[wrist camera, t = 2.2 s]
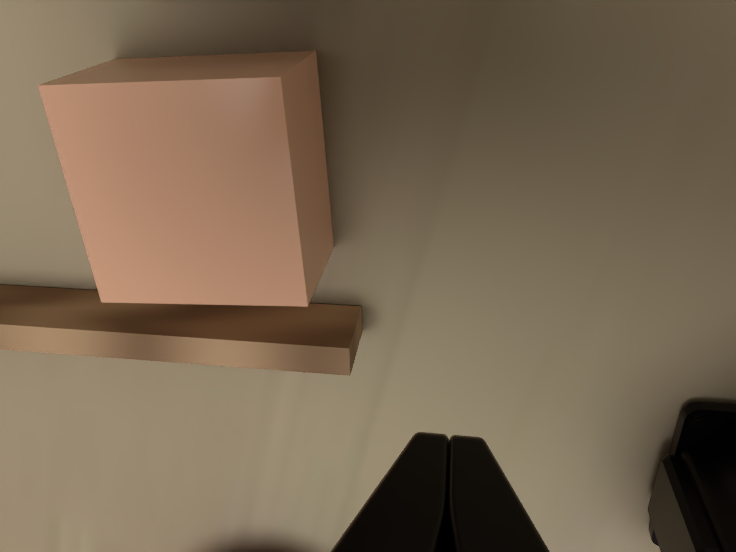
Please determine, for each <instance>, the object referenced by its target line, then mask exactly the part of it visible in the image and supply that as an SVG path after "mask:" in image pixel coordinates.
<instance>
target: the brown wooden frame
mask: <svg viewBox="0 0 736 552" xmlns="http://www.w3.org/2000/svg"><path fill="white" fill-rule="evenodd" d="M361 334H362V306H348V305H331V304H315V303H309V305H308V307H302V306H253V305H204V304H155V303H106V302H101V299H100V296H99V293H98V290H83V289H66V288H49V287H33V286H16V285H0V349H3V350H16V351H30V352H43V353H56V354H70V355H83V356H96V357H110V358H123V359H137V360H150V361H163V362H177V363H190V364H204V365H217V366H230V367H244V368H257V369H270V370H284V371H297V372H311V373H324V374H337V375H350V374H351V371H352V367H353V363H354V360H355V356H356V352H357V349H358V345H359V341H360V338H361Z"/></svg>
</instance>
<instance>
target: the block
mask: <svg viewBox="0 0 736 552" xmlns="http://www.w3.org/2000/svg"><path fill="white" fill-rule="evenodd" d="M38 88H39V91H40V94H41V98H42V101H43V105H44V108H45V111H46V115H47V118H48V122H49V125H50V129H51V132H52V135H53V139H54V142H55V146H56V149H57V152H58V156H59V159H60V163H61V166H62V170H63V173H64V176H65V180H66V183H67V187H68V190H69V193H70V197H71V200H72V204H73V207H74V211H75V214H76V217H77V221H78V224H79V228H80V231H81V234H82V238H83V241H84V245H85V248H86V252H87V255H88V258H89V262H90V265H91V269H92V272H93V276H94V279H95V282H96V286H97V289H98V293H99V296H100V299H101V302H106V303H155V304H204V305H253V306H302V307H308V305H309V303H310V301H311V298H312V296H313V294H314V291H315V289H316V287H317V284H318V282H319V280H320V278H321V275H322V273H323V271H324V268H325V266H326V264H327V261H328V259H329V257H330V255H331V252H332V250H333V248H334V241H333V230H332V219H331V208H330V198H329V187H328V176H327V165H326V154H325V143H324V132H323V121H322V110H321V99H320V88H319V77H318V66H317V55H316V51H294V52H270V53H246V54H222V55H197V56H173V57H149V58H125V59H114V60H111V61H108V62H105V63H102V64H99V65H96V66H93V67H90V68H87V69H85V70H82V71H79V72H76V73H73V74H70V75H67V76H64V77H61V78H58V79H55V80H52V81H50V82H47V83H44V84H41V85H38Z"/></svg>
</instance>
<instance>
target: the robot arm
mask: <svg viewBox="0 0 736 552" xmlns="http://www.w3.org/2000/svg"><path fill="white" fill-rule="evenodd" d="M701 415H703V417H702V418H700V419H696V420H694V418H695V417H697V416H701ZM648 512H649V515H650V519H651V521H650V525H649V533H650V536H651V540H652V541H653V543H654V544H656V545H657V546H659V547H660V551H661V552H736V404H724V403H711V402H693V403H690V404H688V405H686V406H685V407H684V408H683V409H682V411H681V413H680V417H679V420H678V424H677V428H676V431H675V435H674V438H673V442H672V446H671V449H670V453H669V455H666V456H665V457H664V458H663V459H662V460H661V461H660V465H659V469H658V473H657V476H656V480H655V484H654V487H653V491H652V495H651V498H650V502H649V506H648ZM331 552H549V550H548V548H547V546H546V545H545V543H544V541H543V540H542V538H541V536H540V534H539V533H538V531H537V529H536V528H535V526H534V524H533V522H532V521H531V519H530V517H529V516H528V514H527V512H526V510H525V509H524V507H523V505H522V504H521V502H520V500H519V498H518V497H517V495H516V493H515V492H514V490H513V488H512V486H511V485H510V483H509V481H508V480H507V478H506V476H505V474H504V473H503V471H502V469H501V468H500V466H499V464H498V462H497V461H496V459H495V457H494V456H493V454H492V452H491V450H490V449H489V447H488V445H487V444H486V442H485V441H484V440H483V439H482V438H480V437H472V436H460V435H453V436H452V437H451V438H450V440H449V439H448V437H447V436H446V435H445V434H437V433H425V432H418V433H416V434H415V435H414V436H413V437H412V438H411V440H410V441H409V443H408V444H407V445H406V447H405V448H404V450H403V451H402V452H401V454H400V455H399V457H398V458H397V459H396V461H395V462H394V464H393V465H392V466H391V468H390V469H389V471H388V472H387V473H386V475H385V476H384V478H383V479H382V480H381V482H380V483H379V485H378V486H377V487H376V489H375V490H374V492H373V493H372V494H371V496H370V497H369V499H368V500H367V502H366V503H365V504H364V506H363V507H362V509H361V510H360V511H359V513H358V514H357V516H356V517H355V518H354V520H353V521H352V523H351V524H350V525H349V527H348V528H347V530H346V531H345V532H344V534H343V535H342V537H341V538H340V539H339V541H338V542H337V544H336V545H335V546H334V548H333V549H332V551H331Z"/></svg>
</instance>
